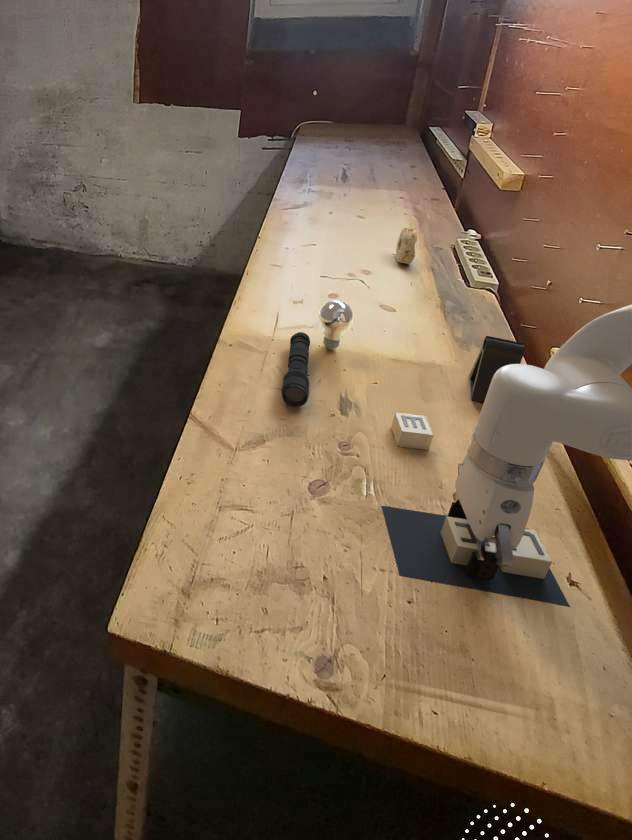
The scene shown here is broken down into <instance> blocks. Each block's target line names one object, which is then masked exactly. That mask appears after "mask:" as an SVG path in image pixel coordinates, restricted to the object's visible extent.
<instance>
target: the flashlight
mask: <svg viewBox="0 0 632 840" xmlns="http://www.w3.org/2000/svg"><path fill="white" fill-rule="evenodd" d="M289 339H290V341H289V343H290V344H289V352H288V360H287V372H286V373H285V374H284V376H283V378H282V386H281V398H282V400H283V401H284V402H285V403H286V404H287V405H288V406H291V407H299V406H300V407H301V406H304V405H305V404H306V403H307V402H308V399H309V396H310V380H309V375H308V374H309V372H308V370H309V358H310V346H311V339H310V336H309V335H308V334H307V333H305V332H302V331H299V332H296V333H295V334H293V335H292V336H290V338H289Z"/></svg>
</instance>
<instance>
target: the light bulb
mask: <svg viewBox="0 0 632 840" xmlns="http://www.w3.org/2000/svg"><path fill="white" fill-rule="evenodd" d="M319 309H320V310H319V313H318V319H319V323H320V325H321V327H322V329H323V341H322V344H323V345H324V346H325V348H326V349H327V350H330V351H333V350H334V349H337V348H339V346H340V342H341V339H342V338H343V335H344V334H345V332H346V331H347V330H349V329H350V328H351V327H352V325H353V322H354V318H355V315H354V311H353V309H352V308H351V306H350V304H348V303H347V302H345V301H343V300H339V299H334V300H333V299H332V300H329V301H327V302H325V303H324V304H323V305H322V306H321V308H319Z"/></svg>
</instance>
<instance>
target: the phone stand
mask: <svg viewBox="0 0 632 840" xmlns="http://www.w3.org/2000/svg"><path fill="white" fill-rule="evenodd" d="M525 352H526V345H525V343H524V342H521V341H515V340H510V339H505V338H501V337H496V336H495V337H494V336H490V335H486V336H485V337H484V339H483V343H482V345H481V348H480V350H479V353H478V354H477V357H476V359H475V361H474V364H473V365H472V368H471V370H470V373H469V387H470V388H469V389H470V401H474V402H478V403H482V404H484V401H485V398H486V395H487V393H488V390H489V387H490V384H491V381H492V378H493V376H494V374H495V373H496V371H497V370H498V369H500V368H501V367H503V366H506V365H509V364H522V360H523V358H524V355H525Z"/></svg>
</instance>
